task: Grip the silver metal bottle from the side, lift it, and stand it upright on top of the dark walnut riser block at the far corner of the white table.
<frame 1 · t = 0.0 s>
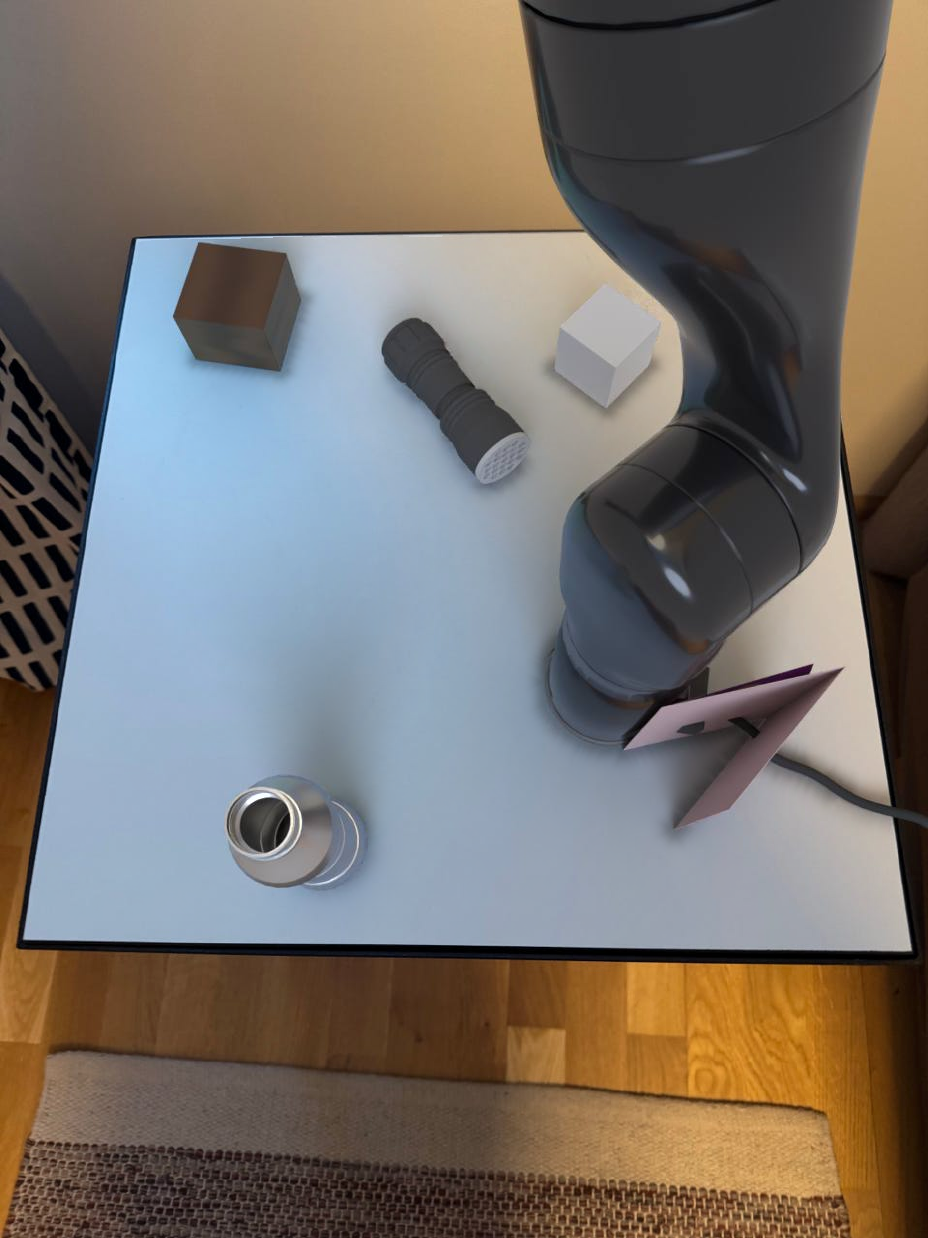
riser: (249, 329, 77), on the table
white cube: (601, 369, 75), on the table
greeting card: (705, 770, 63), on the table
silver metal bottle: (328, 845, 62), on the table
flashlight: (455, 417, 74), on the table
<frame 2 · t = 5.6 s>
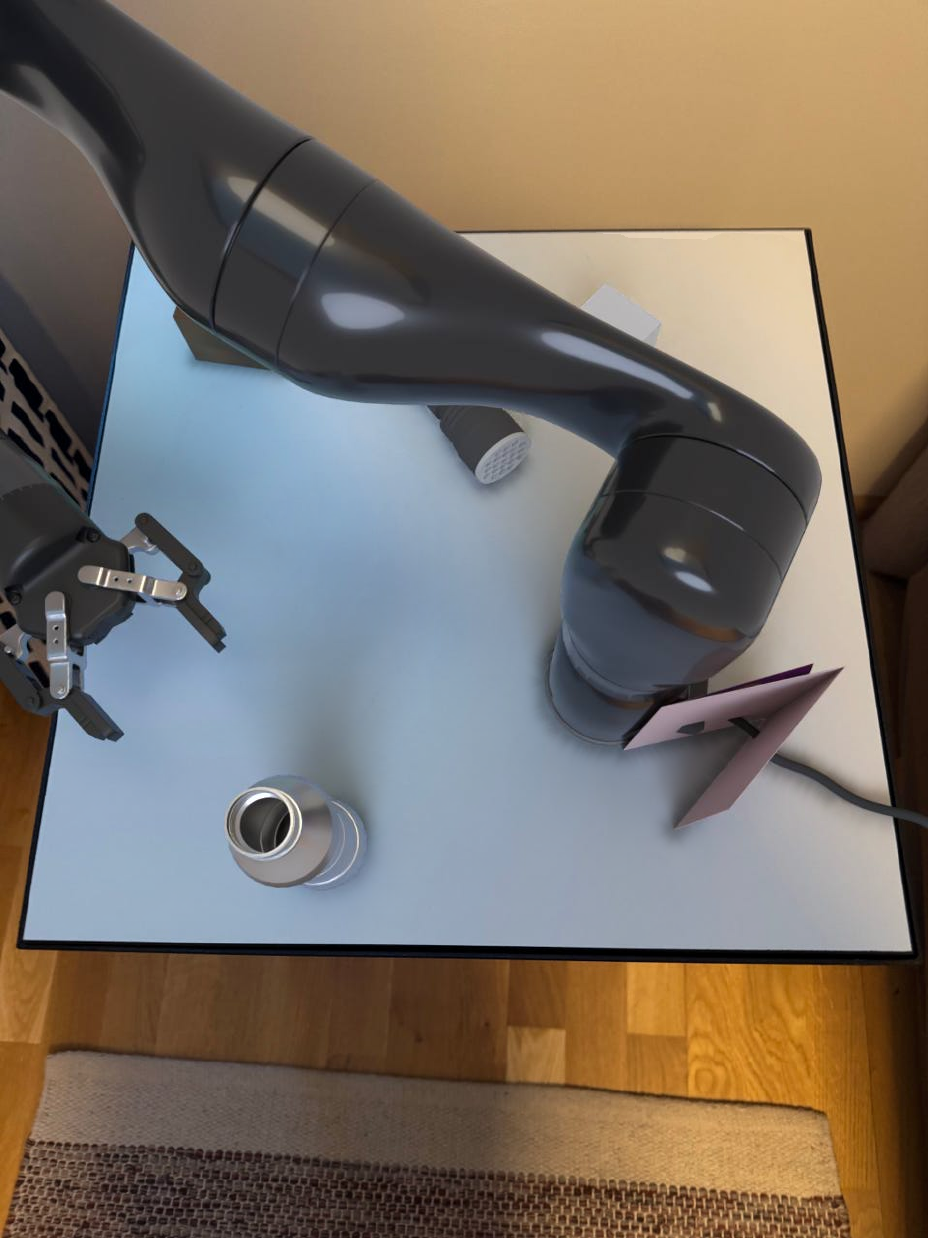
hand: (169, 691, 54), 12 cm above the table, tool horizontal, fingers open, 8 cm apart
nothing on the table moved.
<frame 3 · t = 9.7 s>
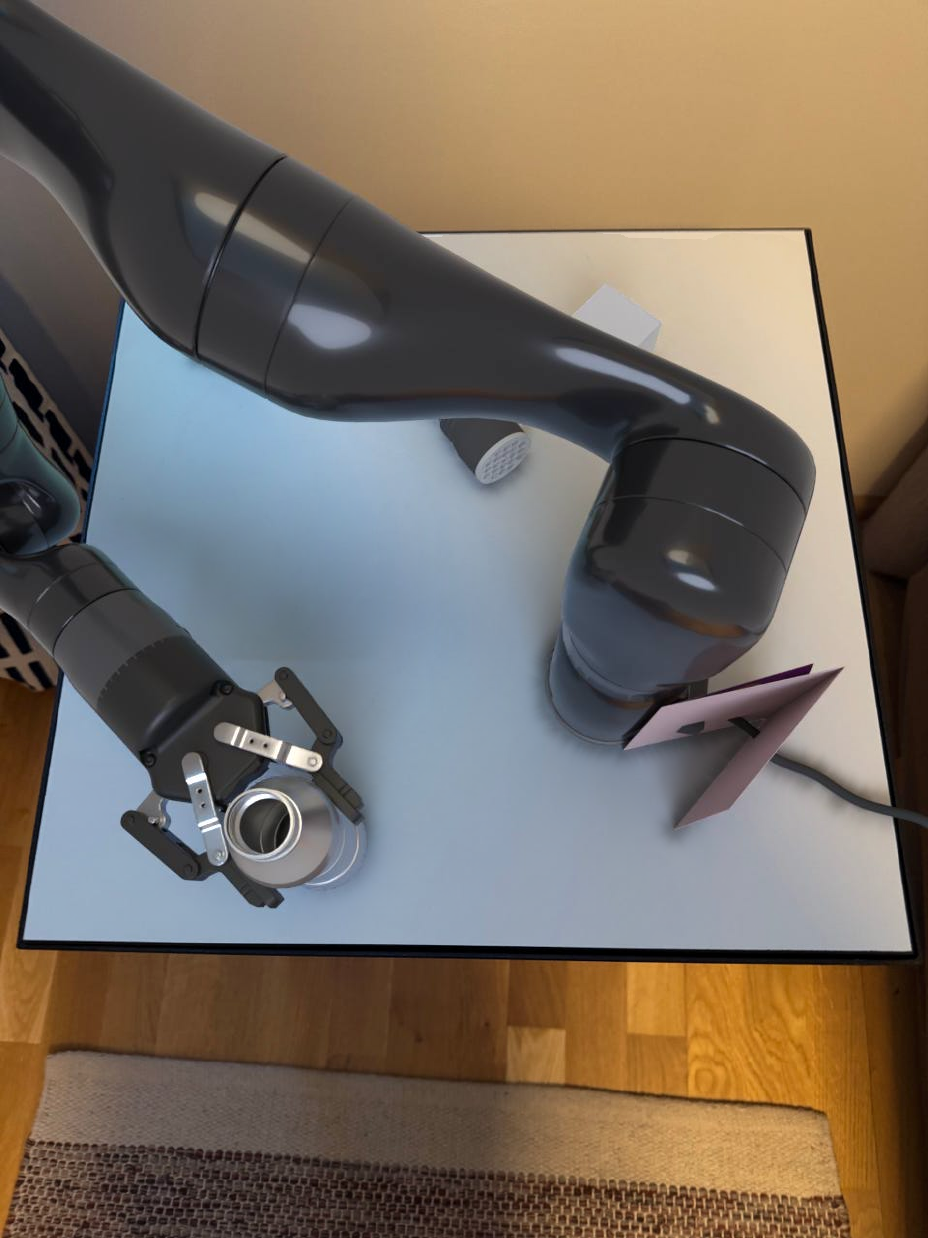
hand: (318, 861, 50), 12 cm above the table, tool horizontal, fingers closed on silver metal bottle, 6 cm apart
silver metal bottle: (328, 845, 62), on the table, touching gripper
everything else where it was.
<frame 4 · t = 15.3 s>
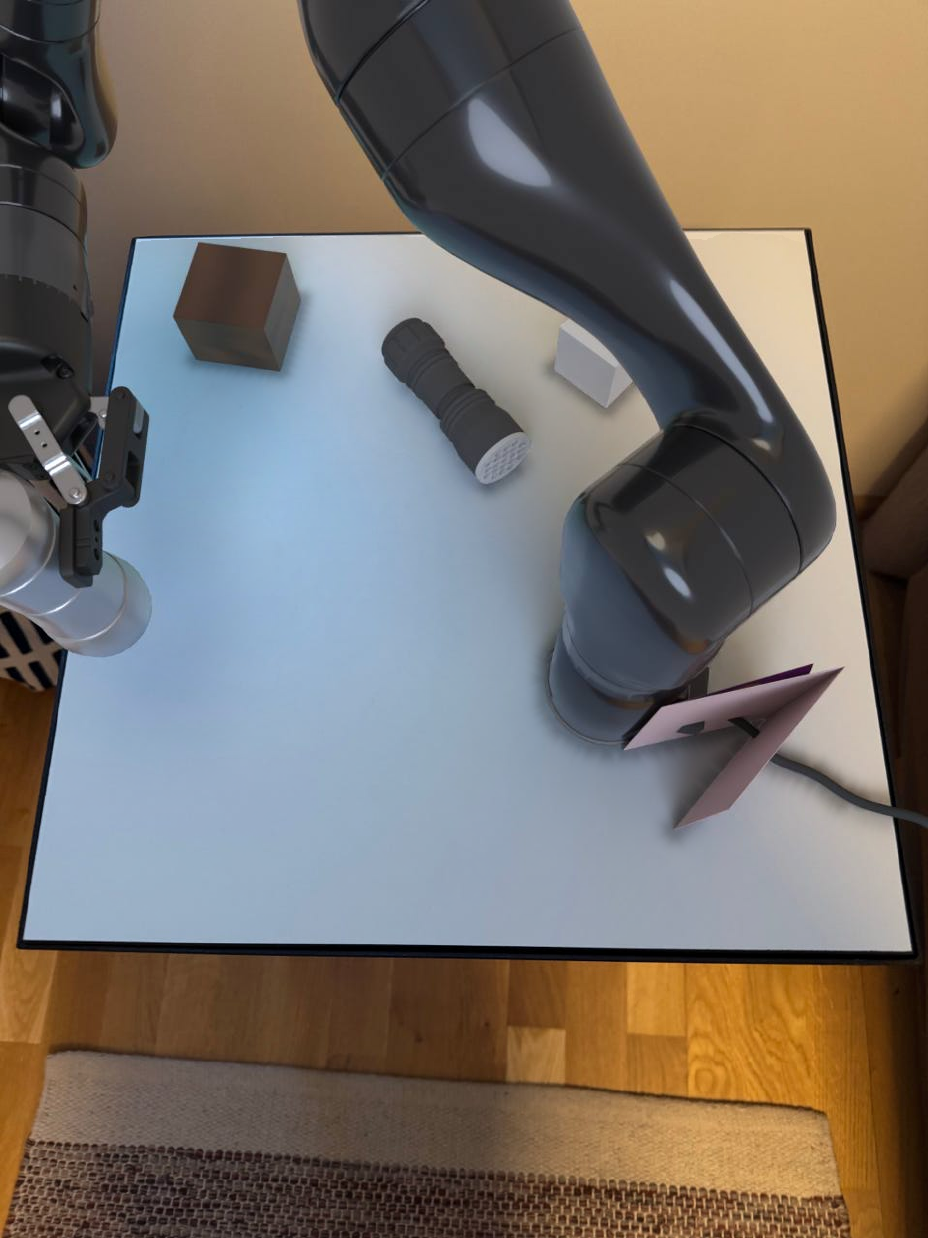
hand: (11, 590, 43), 25 cm above the table, tool horizontal, fingers closed on silver metal bottle, 6 cm apart
silver metal bottle: (115, 617, 55), point 13 cm above the table, touching gripper
everything else where it was.
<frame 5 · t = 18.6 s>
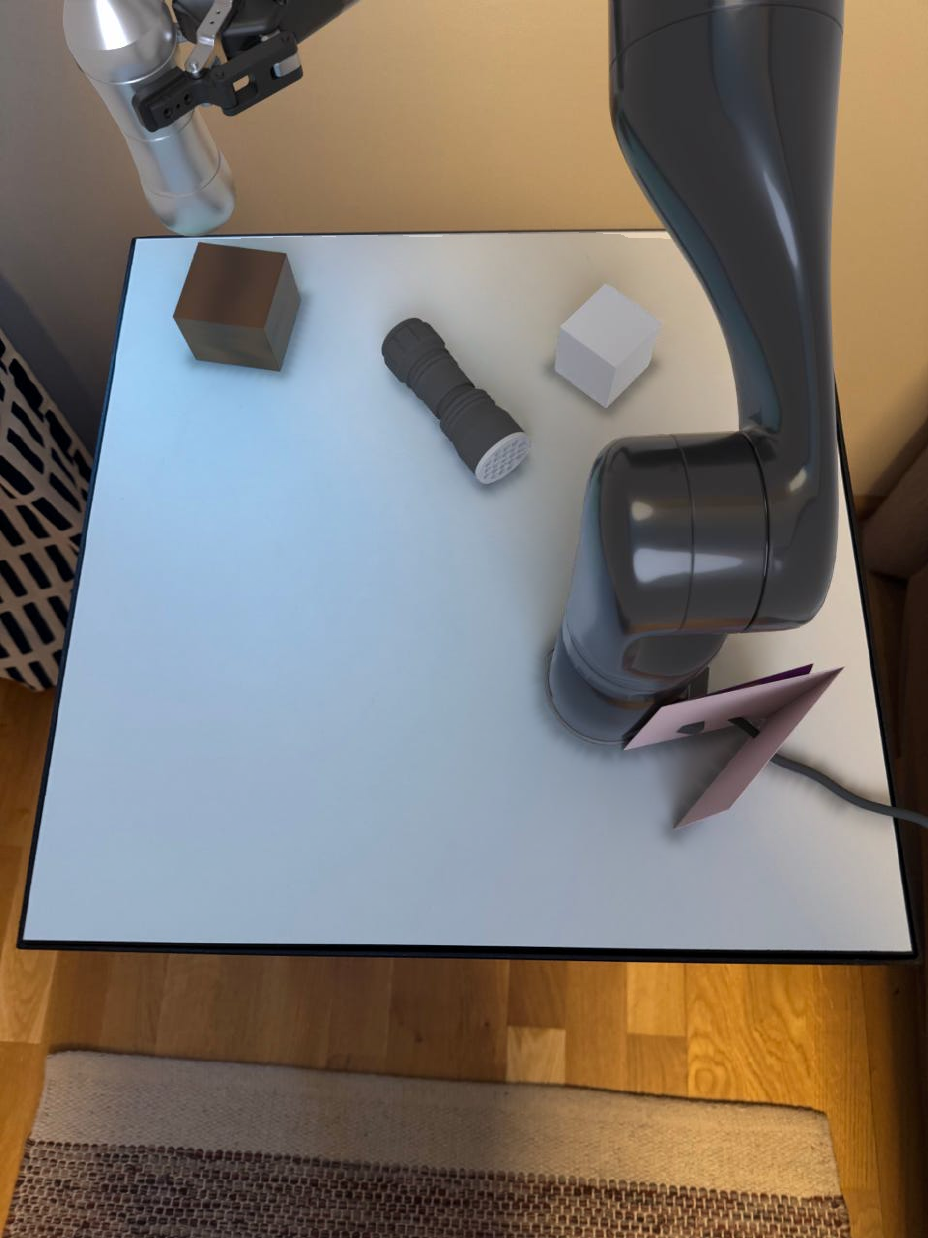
hand: (108, 88, 52), 26 cm above the table, tool horizontal, fingers closed on silver metal bottle, 6 cm apart
silver metal bottle: (202, 216, 64), point 13 cm above the table, touching gripper
everything else where it was.
when the fingers open (18 cm above the table, at t = 21.3 s): silver metal bottle stays where it is, resting on riser.
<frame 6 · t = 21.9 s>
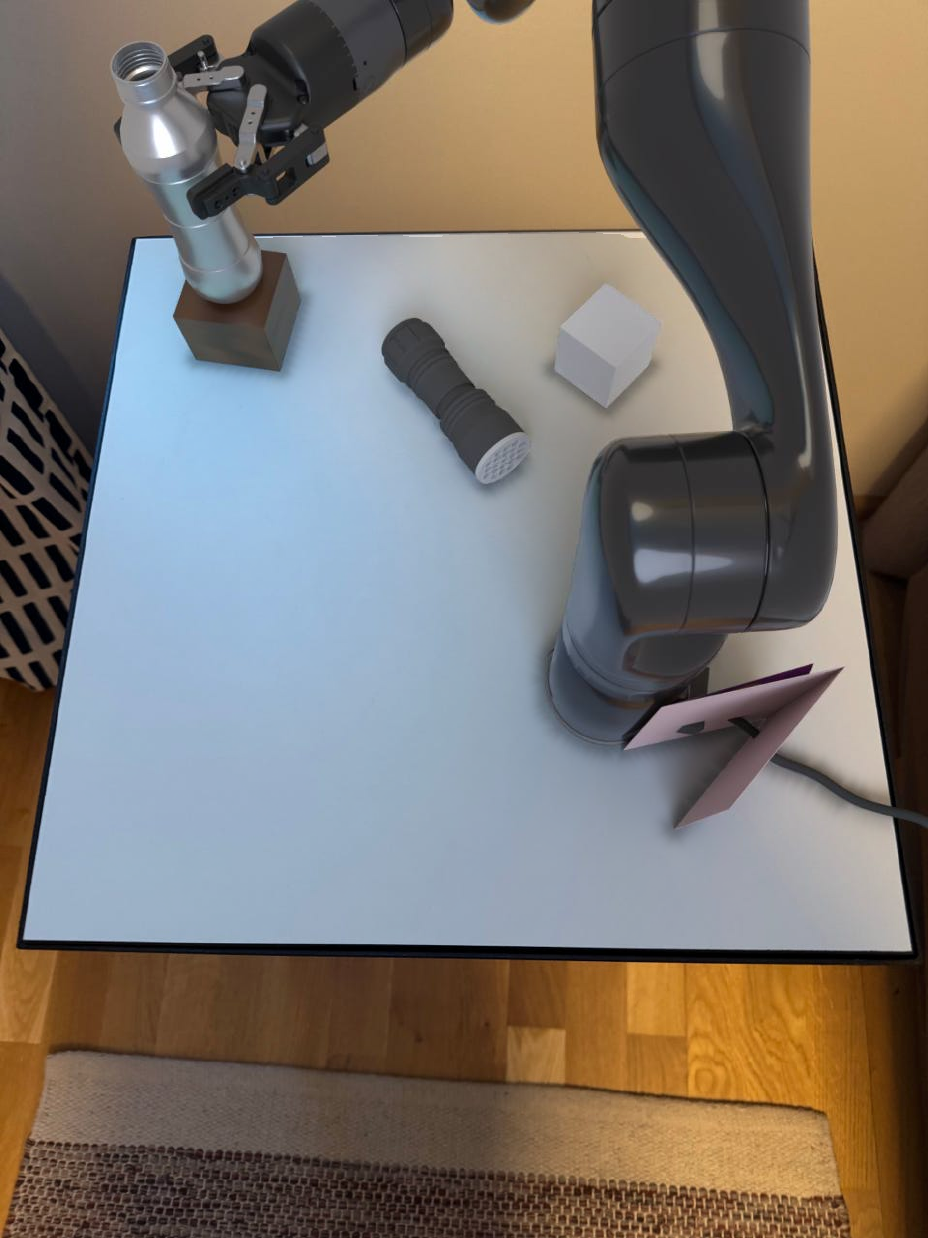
hand: (156, 174, 59), 19 cm above the table, tool horizontal, fingers open, 8 cm apart
silver metal bottle: (231, 284, 72), point 6 cm above the table, touching riser
everything else where it was.
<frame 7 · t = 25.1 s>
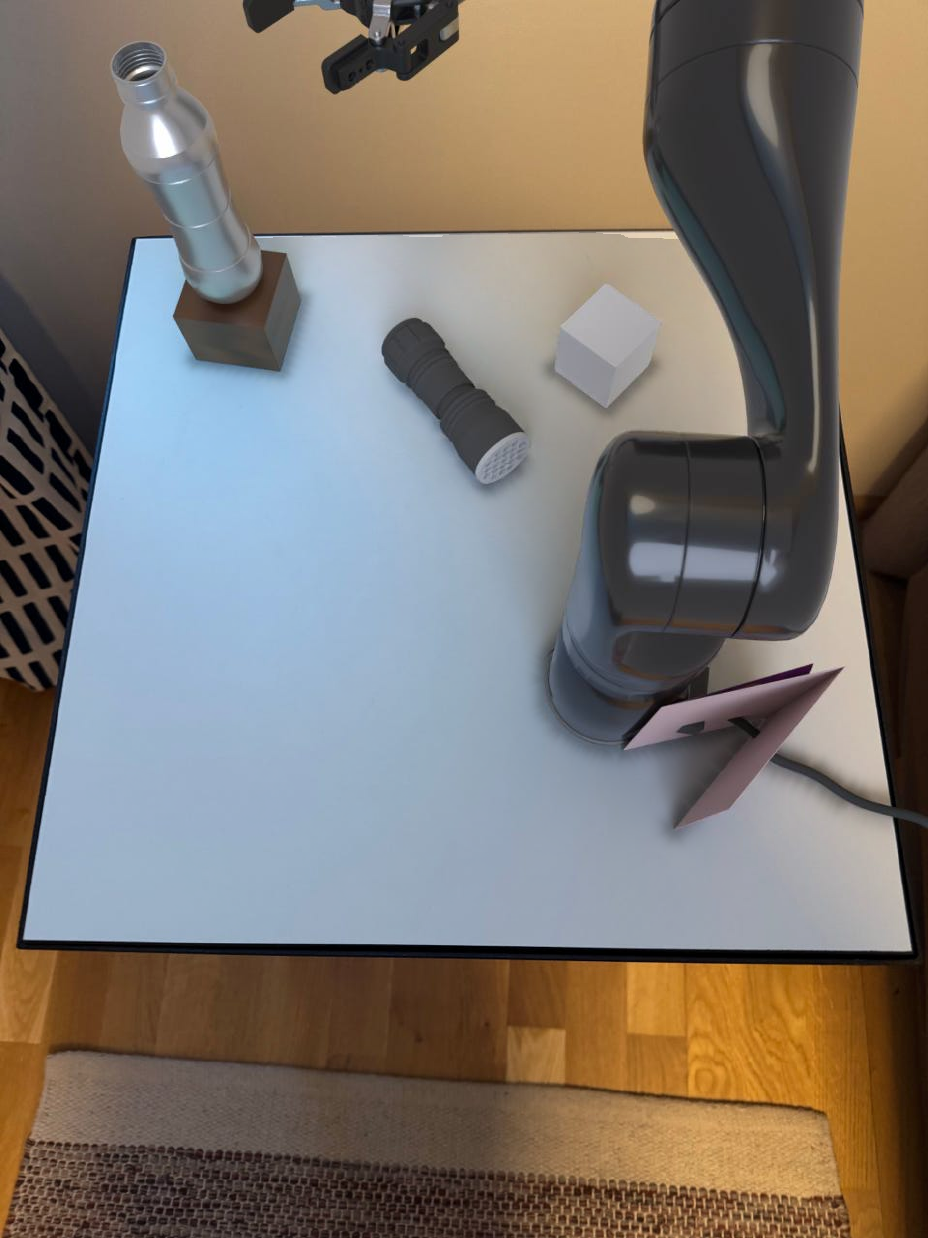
hand: (286, 48, 58), 22 cm above the table, tool horizontal, fingers open, 8 cm apart
nothing on the table moved.
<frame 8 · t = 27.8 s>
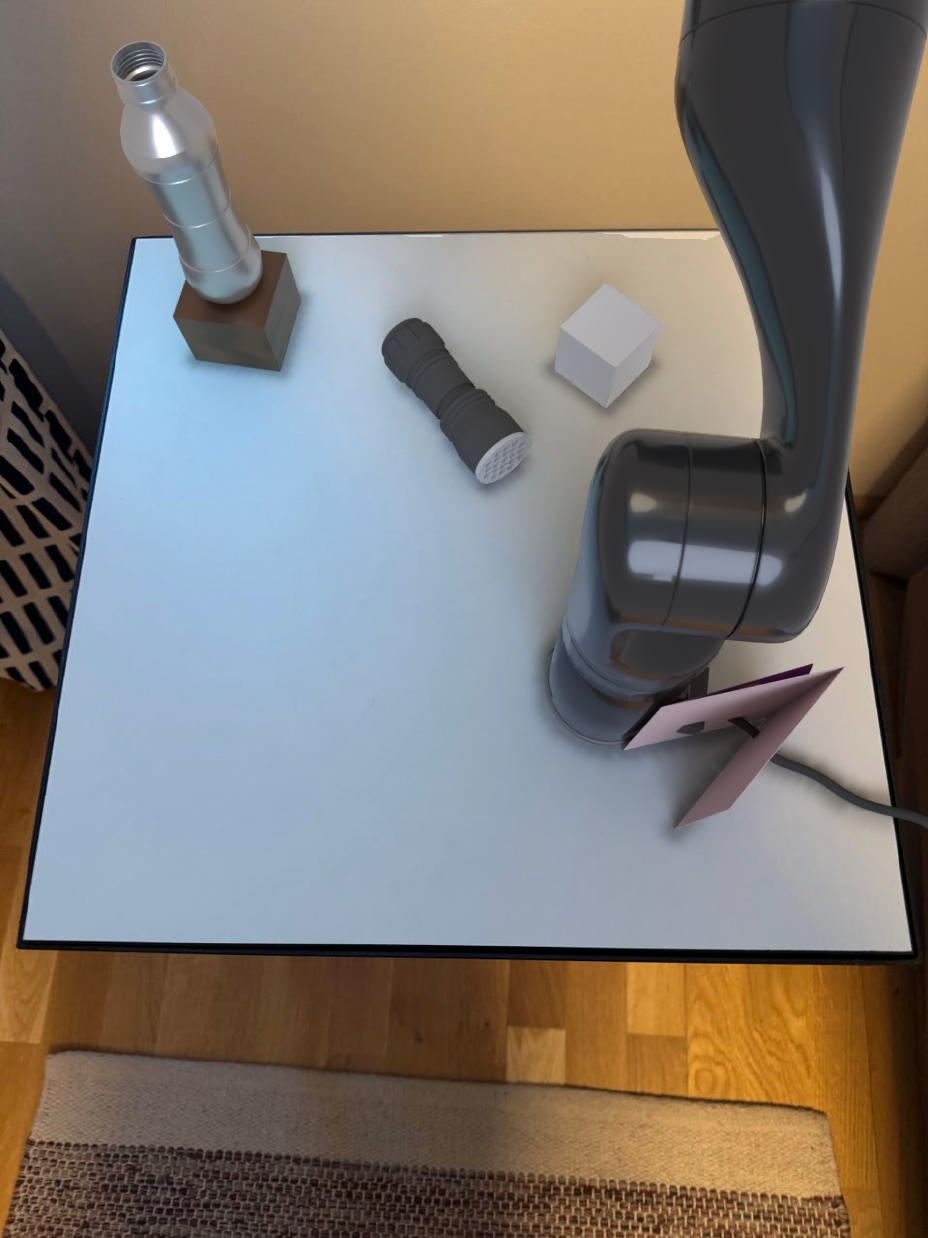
nothing on the table moved.
at the end: silver metal bottle inside the target area on the riser (0.1 cm from its centre), point 5.8 cm above the riser's base; silver metal bottle tilted 0°; the gripper is holding nothing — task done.
